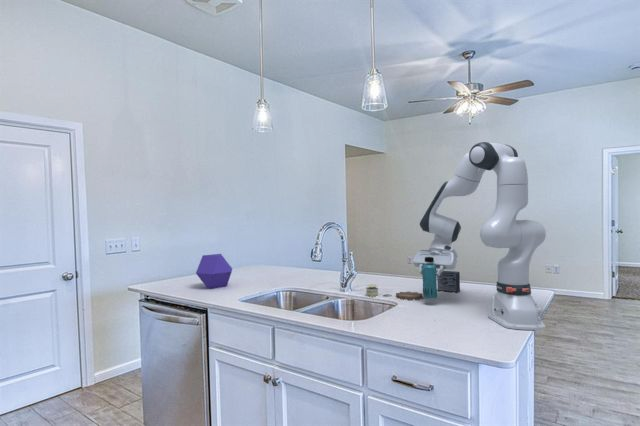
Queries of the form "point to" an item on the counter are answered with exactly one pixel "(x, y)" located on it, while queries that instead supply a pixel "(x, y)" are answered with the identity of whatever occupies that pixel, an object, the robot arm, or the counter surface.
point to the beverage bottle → (429, 279)
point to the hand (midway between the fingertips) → (428, 274)
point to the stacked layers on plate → (372, 290)
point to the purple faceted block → (214, 271)
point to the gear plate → (409, 295)
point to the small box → (449, 281)
